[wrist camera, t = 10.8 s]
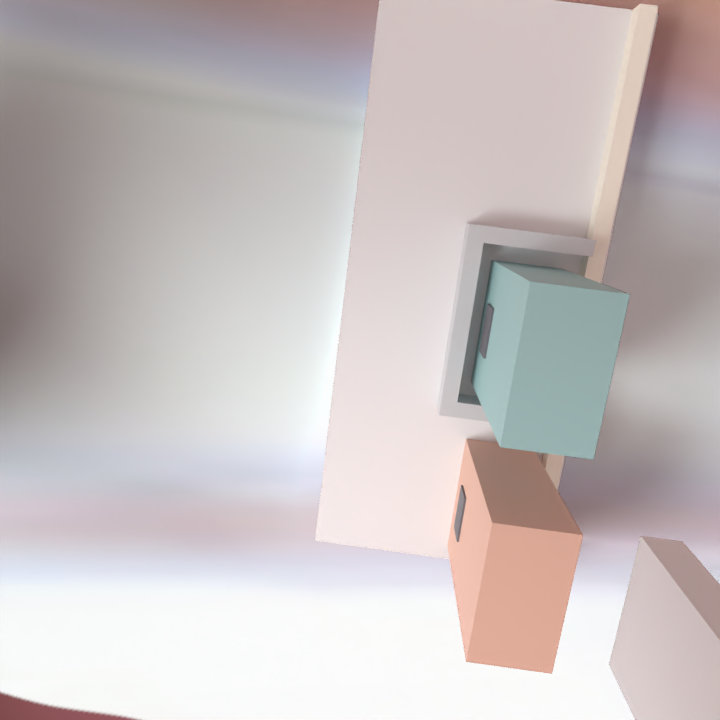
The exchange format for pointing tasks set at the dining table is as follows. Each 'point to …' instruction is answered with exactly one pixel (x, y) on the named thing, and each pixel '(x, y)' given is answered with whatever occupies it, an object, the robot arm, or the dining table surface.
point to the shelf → (464, 232)
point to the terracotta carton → (510, 558)
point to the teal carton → (547, 357)
